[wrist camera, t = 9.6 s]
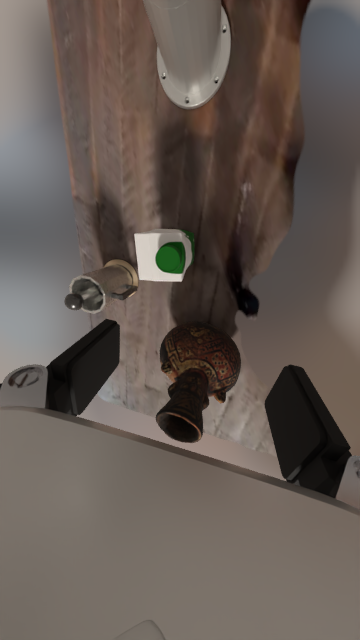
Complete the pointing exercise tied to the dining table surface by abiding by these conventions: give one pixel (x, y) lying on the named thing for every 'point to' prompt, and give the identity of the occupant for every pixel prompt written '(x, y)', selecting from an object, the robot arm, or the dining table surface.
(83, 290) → the white mug
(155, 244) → the milk carton
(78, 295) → the ball-topped lever
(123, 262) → the cork coaster
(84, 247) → the dining table surface
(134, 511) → the robot arm
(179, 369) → the ceramic vessel
